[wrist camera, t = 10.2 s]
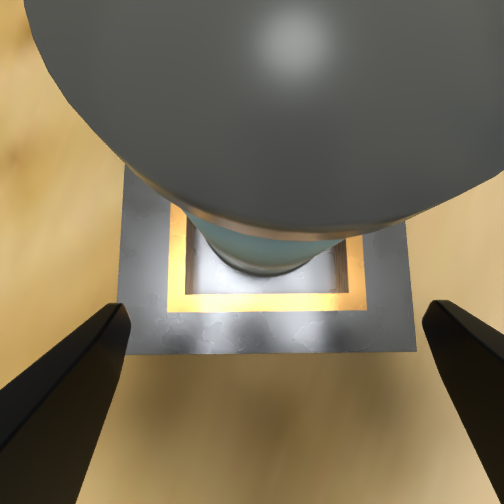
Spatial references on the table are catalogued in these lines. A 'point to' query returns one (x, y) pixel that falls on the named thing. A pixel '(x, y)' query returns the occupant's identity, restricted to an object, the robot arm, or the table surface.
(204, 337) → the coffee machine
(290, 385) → the table surface
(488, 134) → the grey-capped teal cylinder
